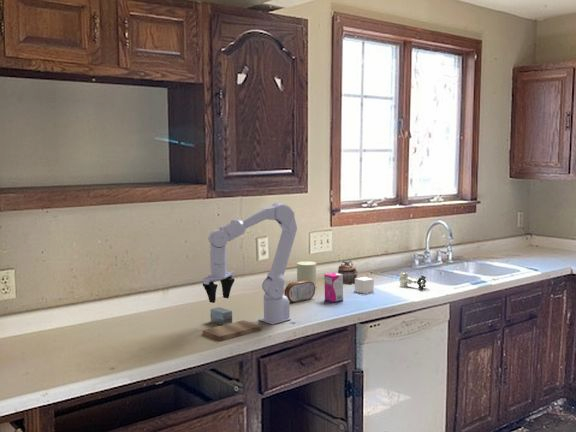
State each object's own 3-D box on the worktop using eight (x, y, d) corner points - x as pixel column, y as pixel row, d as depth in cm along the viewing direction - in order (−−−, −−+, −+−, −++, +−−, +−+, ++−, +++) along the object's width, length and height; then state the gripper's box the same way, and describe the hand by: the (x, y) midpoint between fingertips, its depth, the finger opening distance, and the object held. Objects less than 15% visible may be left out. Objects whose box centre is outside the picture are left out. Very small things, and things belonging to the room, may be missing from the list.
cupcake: (338, 283, 280) (338, 263, 279) (337, 279, 290) (337, 259, 289) (358, 283, 280) (358, 263, 279) (356, 279, 290) (356, 259, 289)
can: (314, 284, 279) (314, 260, 277) (318, 289, 270) (318, 263, 268) (295, 285, 277) (295, 260, 276) (298, 289, 268) (298, 264, 267)
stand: (243, 324, 215) (243, 320, 215) (260, 330, 208) (260, 325, 207) (202, 334, 203) (202, 330, 203) (219, 341, 196) (219, 336, 195)
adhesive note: (373, 292, 264) (373, 279, 263) (363, 294, 260) (363, 280, 260) (364, 289, 269) (365, 276, 268) (354, 291, 265) (354, 278, 265)
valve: (396, 287, 273) (419, 290, 265) (396, 273, 273) (419, 276, 265) (403, 284, 278) (426, 288, 270) (403, 271, 278) (426, 274, 270)
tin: (312, 297, 255) (311, 278, 254) (316, 298, 252) (316, 279, 251) (284, 302, 246) (283, 283, 245) (288, 304, 243) (288, 284, 242)
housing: (219, 320, 221) (219, 307, 221) (232, 324, 215) (232, 311, 215) (210, 322, 218) (210, 309, 218) (223, 326, 213) (223, 313, 212)
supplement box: (334, 298, 252) (334, 272, 251) (343, 301, 247) (343, 274, 246) (324, 300, 249) (324, 273, 248) (332, 303, 244) (332, 276, 243)
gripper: (222, 259, 219) (223, 294, 221) (196, 265, 207) (197, 302, 209) (237, 260, 215) (238, 296, 217) (211, 267, 203) (212, 305, 205)
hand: (219, 300), depth 212 cm, fingers open, 7 cm apart
